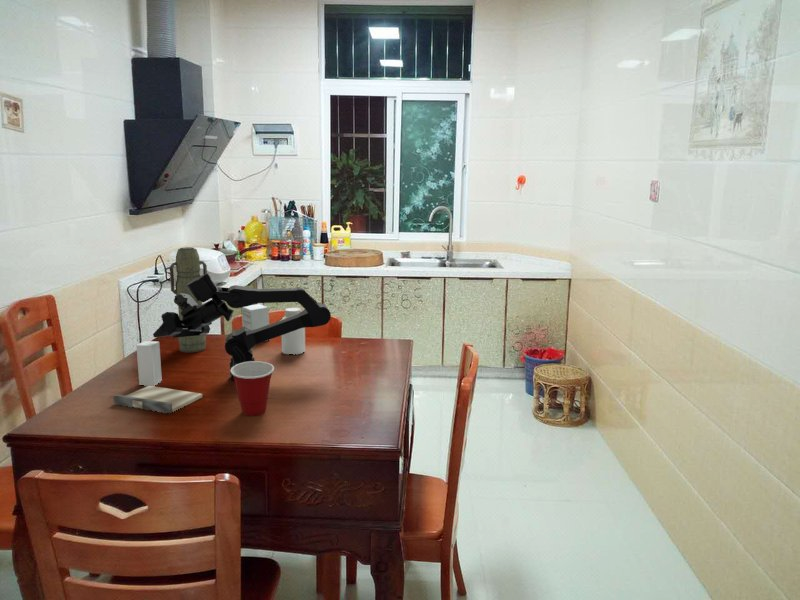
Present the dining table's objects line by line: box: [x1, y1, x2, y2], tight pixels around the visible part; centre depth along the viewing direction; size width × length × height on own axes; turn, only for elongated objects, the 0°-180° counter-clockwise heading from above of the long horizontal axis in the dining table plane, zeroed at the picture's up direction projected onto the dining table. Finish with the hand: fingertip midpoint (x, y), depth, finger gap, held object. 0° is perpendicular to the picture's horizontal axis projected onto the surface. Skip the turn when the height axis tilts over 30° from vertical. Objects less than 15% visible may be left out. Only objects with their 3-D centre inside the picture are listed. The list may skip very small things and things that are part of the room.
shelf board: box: [113, 386, 203, 415], centre depth 168 cm, size 18×13×2 cm
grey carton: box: [136, 340, 163, 387], centre depth 181 cm, size 5×4×12 cm
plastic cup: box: [229, 360, 275, 417], centre depth 160 cm, size 11×11×12 cm
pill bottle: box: [280, 307, 306, 356], centre depth 214 cm, size 8×8×15 cm
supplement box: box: [241, 303, 270, 342], centre depth 228 cm, size 7×7×13 cm
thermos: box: [169, 246, 208, 353], centre depth 214 cm, size 9×12×35 cm
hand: (163, 336), depth 185 cm, fingers open, 9 cm apart
